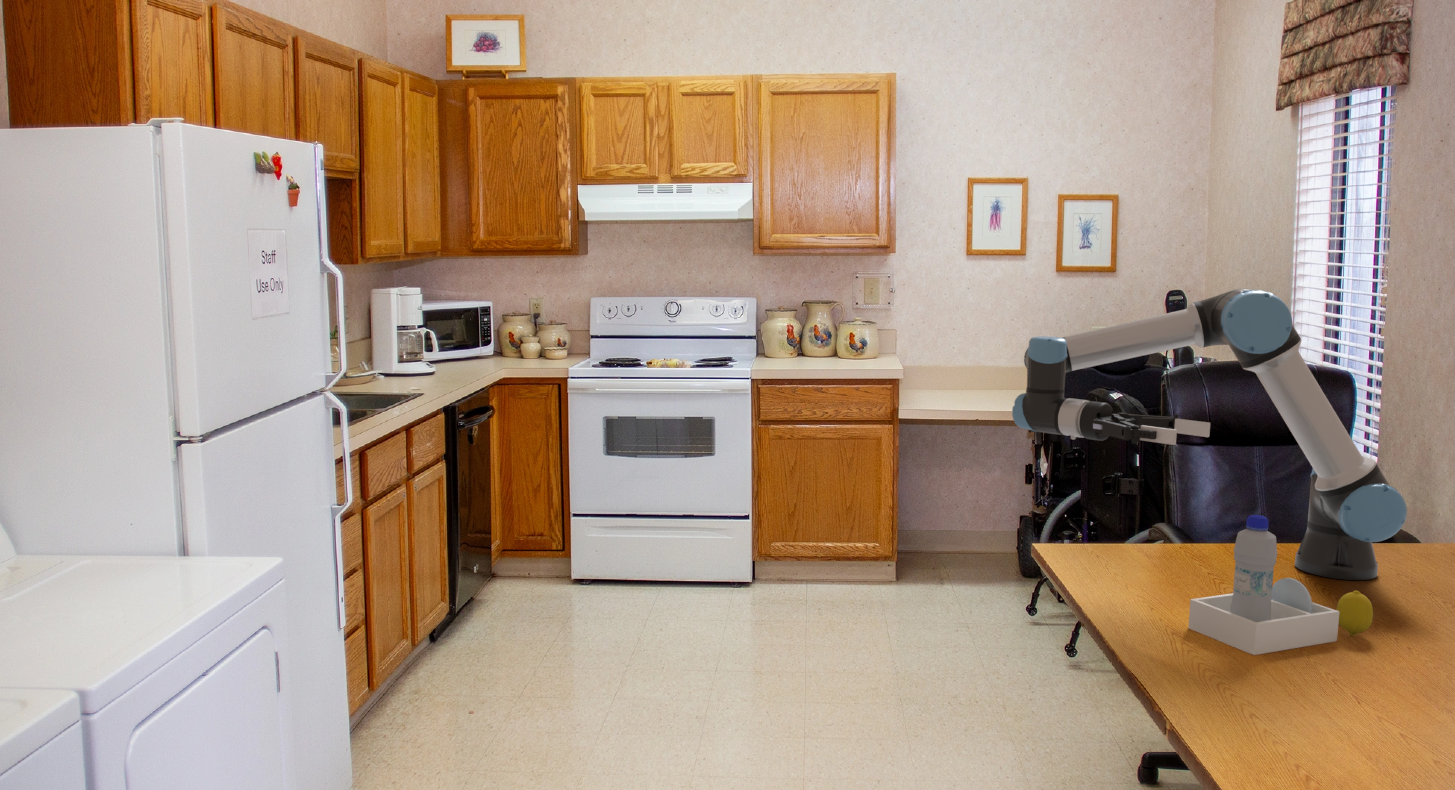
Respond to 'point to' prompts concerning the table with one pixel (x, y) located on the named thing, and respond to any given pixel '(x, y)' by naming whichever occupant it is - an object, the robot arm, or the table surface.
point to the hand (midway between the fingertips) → (1192, 433)
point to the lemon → (1355, 612)
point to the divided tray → (1287, 628)
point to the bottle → (1254, 570)
